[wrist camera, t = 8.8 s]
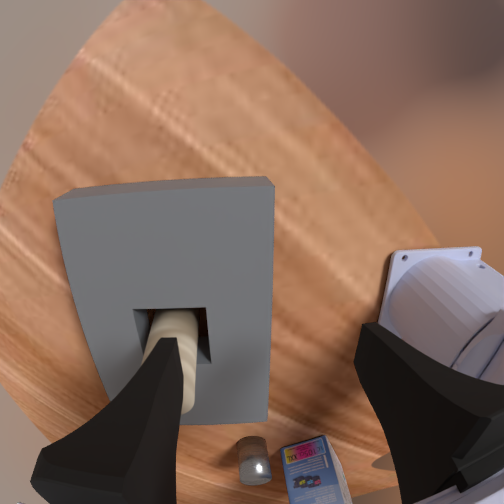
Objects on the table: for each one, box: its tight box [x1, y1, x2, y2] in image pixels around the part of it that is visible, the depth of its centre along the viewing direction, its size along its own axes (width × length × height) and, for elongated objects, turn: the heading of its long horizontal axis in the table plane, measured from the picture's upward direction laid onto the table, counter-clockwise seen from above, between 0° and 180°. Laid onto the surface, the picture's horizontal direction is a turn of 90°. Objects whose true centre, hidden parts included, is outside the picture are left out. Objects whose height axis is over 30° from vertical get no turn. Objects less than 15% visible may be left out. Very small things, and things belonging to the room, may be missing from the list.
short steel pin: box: [237, 436, 272, 485], centre depth 27 cm, size 3×3×4 cm
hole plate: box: [53, 176, 275, 425], centre depth 20 cm, size 12×18×3 cm, turn 0°
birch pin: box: [141, 307, 200, 415], centre depth 18 cm, size 3×3×8 cm
